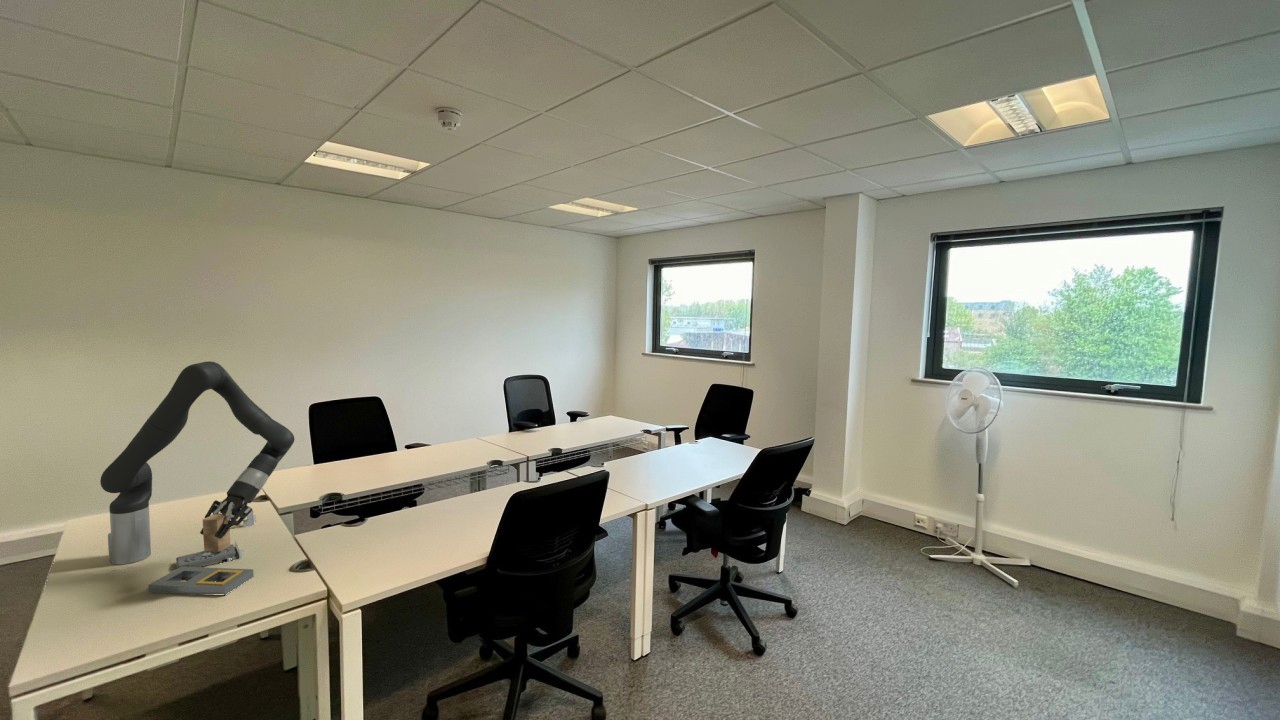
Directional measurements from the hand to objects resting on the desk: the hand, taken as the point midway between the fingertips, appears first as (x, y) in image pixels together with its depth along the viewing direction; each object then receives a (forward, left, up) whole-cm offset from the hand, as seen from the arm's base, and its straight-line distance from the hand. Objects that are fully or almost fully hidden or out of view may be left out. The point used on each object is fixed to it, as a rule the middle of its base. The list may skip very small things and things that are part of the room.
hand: (210, 535), depth 152 cm
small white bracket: (-28, +44, -17) cm, 55 cm away
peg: (+1, +2, -5) cm, 5 cm away
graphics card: (-15, +17, -17) cm, 29 cm away
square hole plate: (-4, +2, -17) cm, 17 cm away
